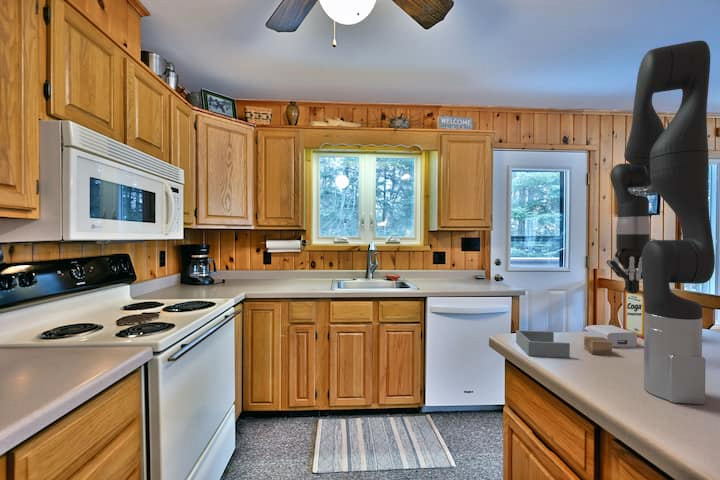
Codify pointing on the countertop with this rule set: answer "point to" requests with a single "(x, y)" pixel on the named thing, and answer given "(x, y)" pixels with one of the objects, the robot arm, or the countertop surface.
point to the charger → (613, 335)
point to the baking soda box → (634, 312)
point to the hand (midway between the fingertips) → (632, 293)
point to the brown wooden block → (598, 345)
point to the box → (541, 344)
